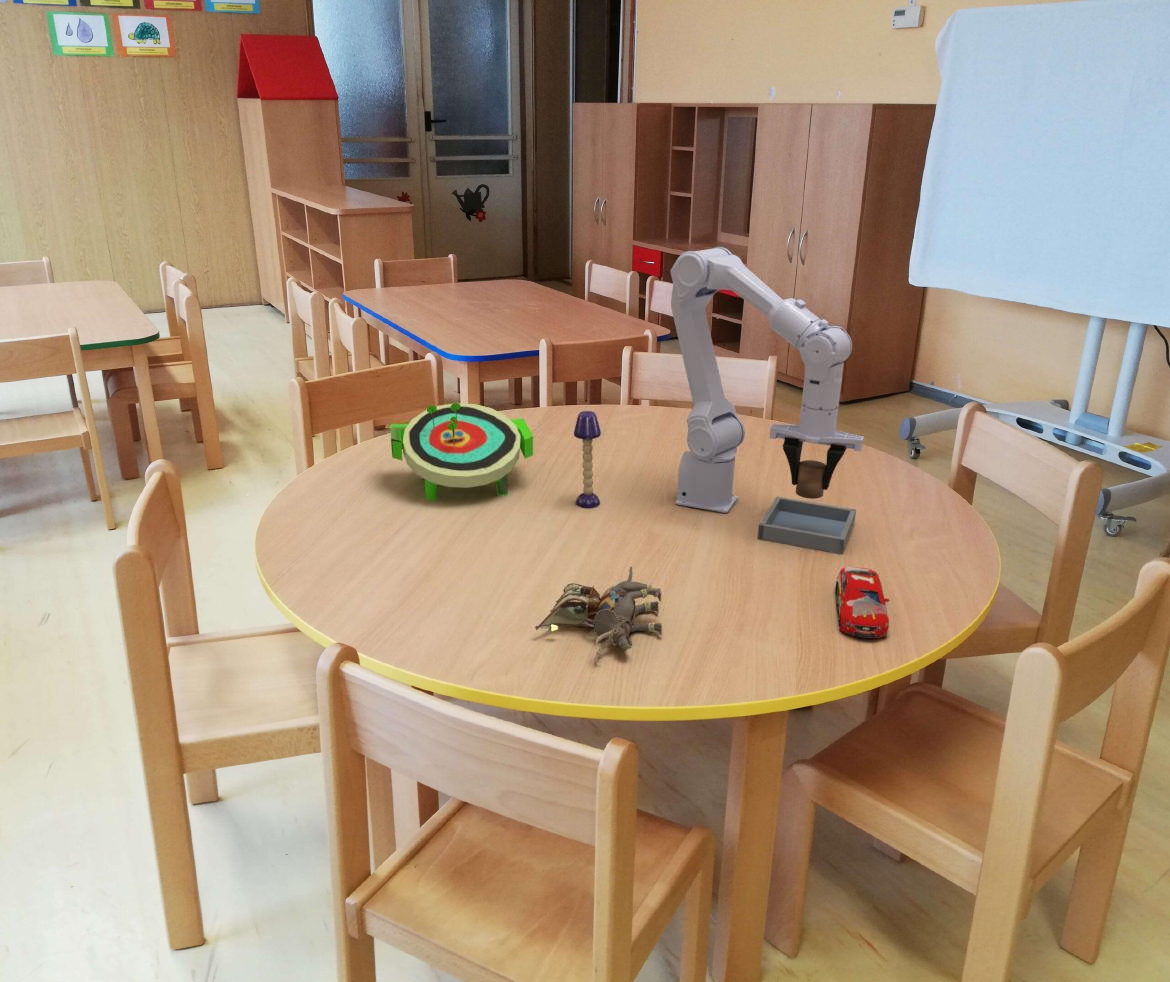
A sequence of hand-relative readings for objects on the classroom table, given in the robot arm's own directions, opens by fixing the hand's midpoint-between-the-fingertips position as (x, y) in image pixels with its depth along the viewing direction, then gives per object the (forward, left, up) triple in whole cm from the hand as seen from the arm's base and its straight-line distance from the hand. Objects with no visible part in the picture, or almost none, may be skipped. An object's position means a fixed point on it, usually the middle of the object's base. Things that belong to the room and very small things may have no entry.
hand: (810, 485), depth 153 cm
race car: (+12, -24, -9) cm, 29 cm away
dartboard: (-61, -7, -9) cm, 62 cm away
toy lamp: (-38, -4, -9) cm, 39 cm away
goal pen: (0, +1, -8) cm, 8 cm away
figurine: (-19, -44, -9) cm, 49 cm away
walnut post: (0, 0, -1) cm, 1 cm away
